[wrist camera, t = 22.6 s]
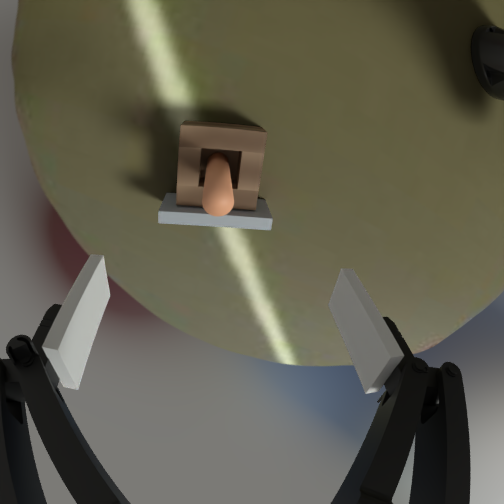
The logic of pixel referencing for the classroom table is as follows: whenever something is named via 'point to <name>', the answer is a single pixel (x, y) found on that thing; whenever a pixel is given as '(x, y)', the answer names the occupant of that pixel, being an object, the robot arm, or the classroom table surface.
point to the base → (199, 216)
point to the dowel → (218, 186)
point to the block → (230, 144)
